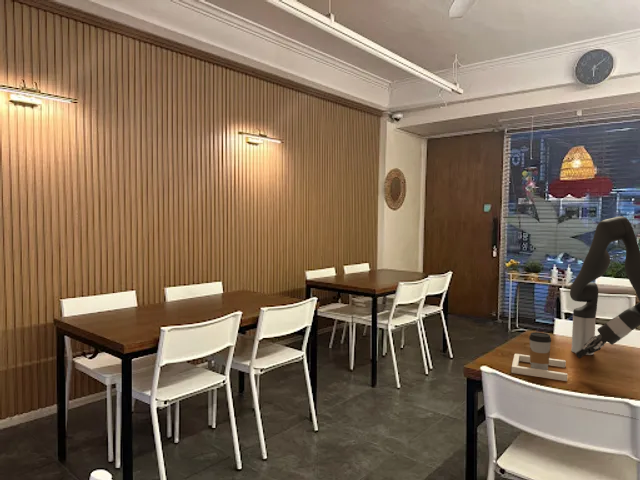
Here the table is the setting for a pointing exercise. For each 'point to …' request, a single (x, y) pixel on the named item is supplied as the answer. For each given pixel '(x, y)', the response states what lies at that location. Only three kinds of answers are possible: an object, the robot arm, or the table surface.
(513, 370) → the frame
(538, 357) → the coffee cup
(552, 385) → the table surface
